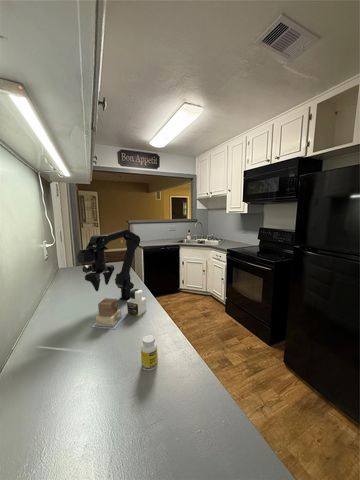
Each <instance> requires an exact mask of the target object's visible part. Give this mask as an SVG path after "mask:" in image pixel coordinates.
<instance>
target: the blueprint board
mask: <svg viewBox="0 0 360 480" xmlns="http://www.w3.org/2000/svg"><path fill="white" fill-rule="evenodd" d="M126 317H127V315H125V314H123V315H122V314H121V318H120V319H119V320H118V321H117V323H116V324H115V325H114V326H113V327H111V326H98V325H97V322H96V321H95V322H94V324H92V325H91V326H90V328H92V329H103V330H116V329H117V328H118V326H120V324H121V323H122V322H123V320H125V318H126Z"/></svg>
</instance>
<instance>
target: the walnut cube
mask: <svg viewBox="0 0 360 480" xmlns="http://www.w3.org/2000/svg"><path fill="white" fill-rule="evenodd" d="M97 306H98V315H99V316H104V317H112V316H113V315H114V314H115V313H116V312H117V311H118V310H119V309H118V299H117V298H110V297H109V298H106V297H105V298H104V299H102V300H101V301H100V302H99V303H97Z"/></svg>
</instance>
